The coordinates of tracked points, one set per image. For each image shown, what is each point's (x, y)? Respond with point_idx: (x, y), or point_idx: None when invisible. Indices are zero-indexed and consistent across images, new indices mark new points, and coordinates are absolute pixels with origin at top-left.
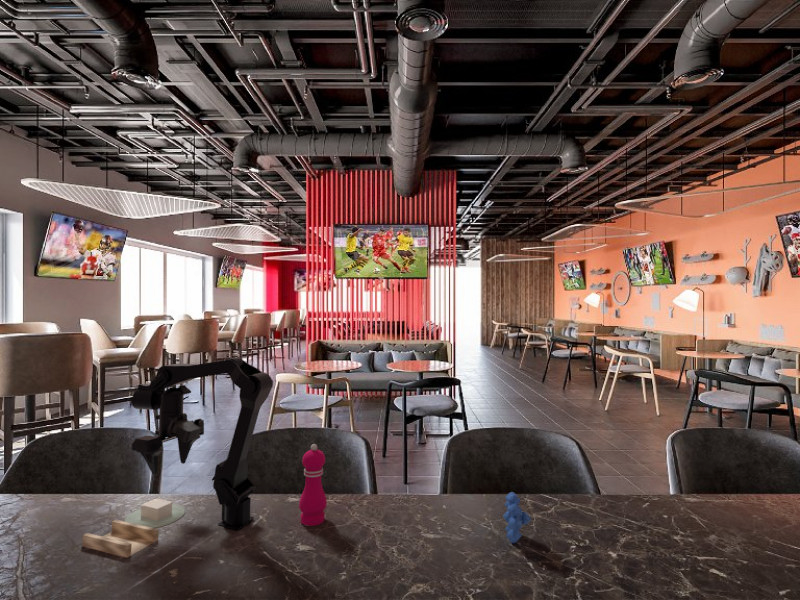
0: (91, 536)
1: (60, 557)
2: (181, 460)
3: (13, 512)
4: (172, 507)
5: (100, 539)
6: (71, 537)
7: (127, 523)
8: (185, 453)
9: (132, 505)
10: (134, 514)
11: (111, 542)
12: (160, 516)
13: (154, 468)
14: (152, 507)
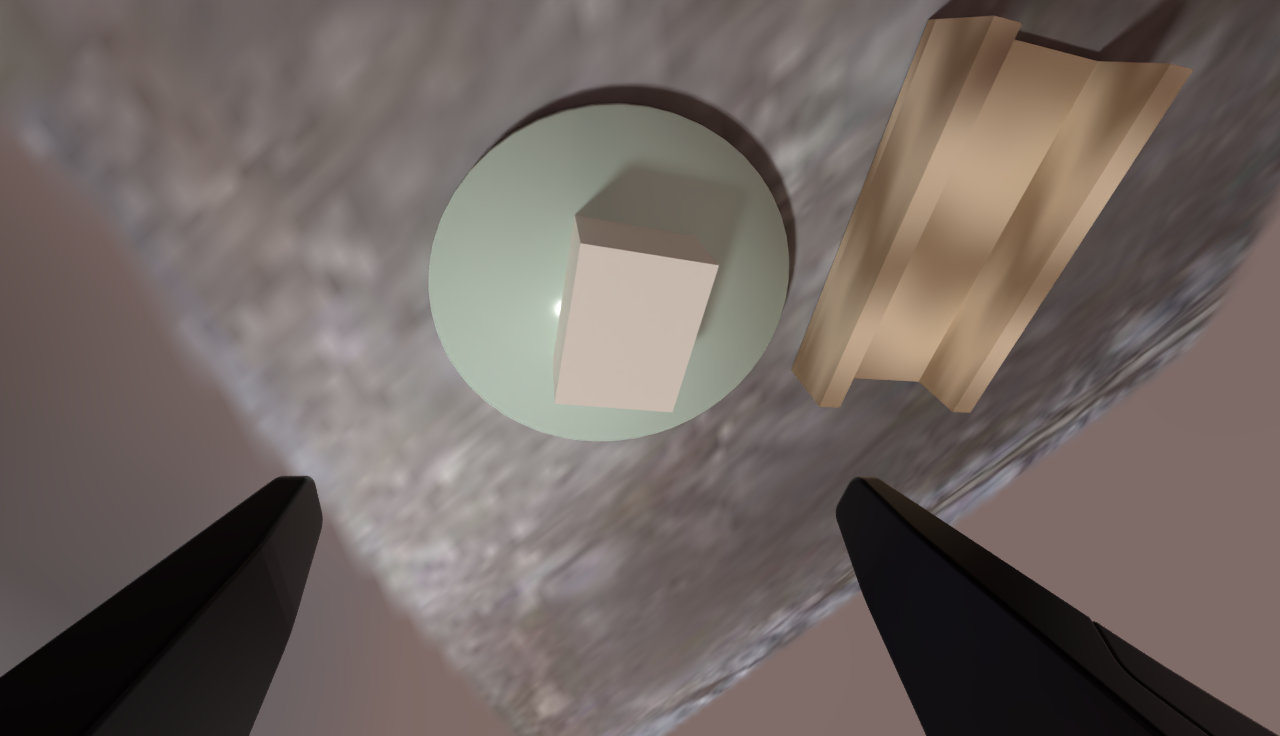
0: (995, 367)
1: (991, 388)
2: (303, 560)
3: (673, 717)
4: (491, 281)
5: (1039, 302)
6: (835, 478)
7: (871, 314)
8: (169, 670)
9: (515, 512)
10: (641, 415)
11: (1095, 217)
12: (672, 237)
13: (973, 549)
14: (698, 317)
